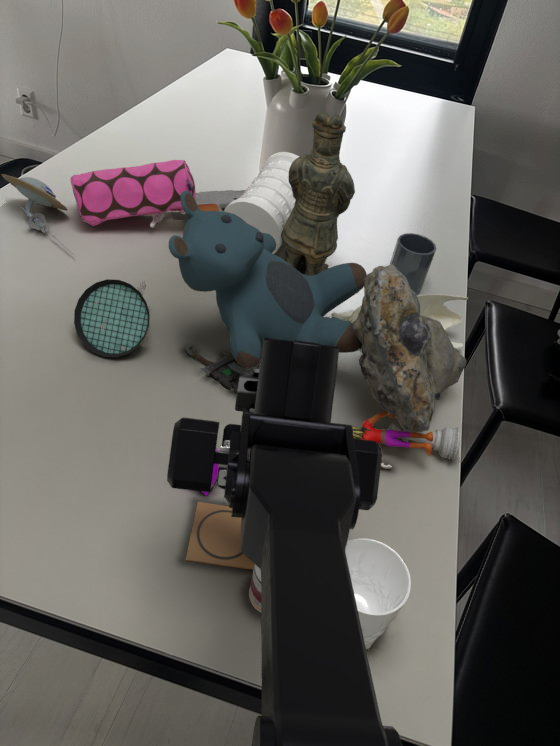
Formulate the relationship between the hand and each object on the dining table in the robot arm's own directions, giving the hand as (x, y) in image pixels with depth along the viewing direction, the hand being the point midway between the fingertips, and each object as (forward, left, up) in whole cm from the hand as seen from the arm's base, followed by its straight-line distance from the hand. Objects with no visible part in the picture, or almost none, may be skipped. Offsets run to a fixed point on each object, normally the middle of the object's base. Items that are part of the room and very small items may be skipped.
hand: (269, 454), depth 64 cm
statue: (+52, -3, -13) cm, 54 cm away
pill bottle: (-9, -3, -13) cm, 16 cm away
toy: (+50, +45, -13) cm, 69 cm away
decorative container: (+54, +7, -6) cm, 55 cm away
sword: (+25, 0, -12) cm, 27 cm away
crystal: (+6, +7, -13) cm, 16 cm away
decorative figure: (+65, +41, -12) cm, 78 cm away
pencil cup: (+55, -22, -13) cm, 60 cm away
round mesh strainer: (+27, +24, -7) cm, 37 cm away
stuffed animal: (+33, -6, -8) cm, 34 cm away
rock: (+22, -10, -5) cm, 24 cm away
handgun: (+61, +6, -11) cm, 62 cm away
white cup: (-11, -11, -13) cm, 20 cm away
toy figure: (+15, -16, -11) cm, 25 cm away
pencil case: (+63, +30, -2) cm, 70 cm away
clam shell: (+43, -17, -4) cm, 46 cm away
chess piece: (+15, -26, -10) cm, 32 cm away
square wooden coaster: (-2, +3, -13) cm, 13 cm away
